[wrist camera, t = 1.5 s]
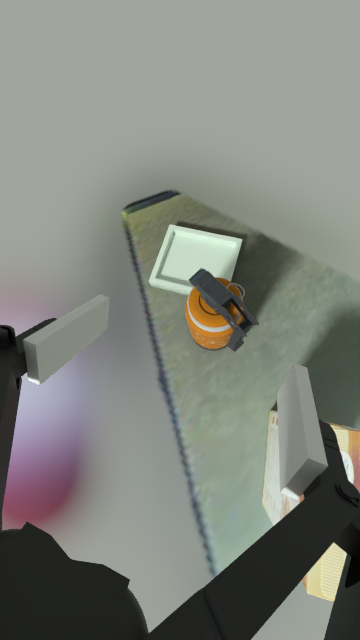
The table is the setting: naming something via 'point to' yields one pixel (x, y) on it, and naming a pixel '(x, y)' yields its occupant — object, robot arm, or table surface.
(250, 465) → the table surface
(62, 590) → the robot arm
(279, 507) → the coffeecake box
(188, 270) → the tray
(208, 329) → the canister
